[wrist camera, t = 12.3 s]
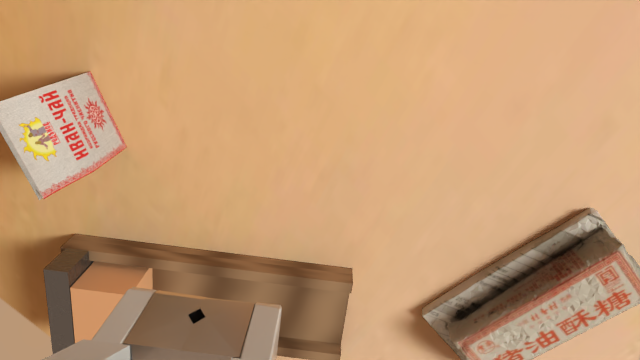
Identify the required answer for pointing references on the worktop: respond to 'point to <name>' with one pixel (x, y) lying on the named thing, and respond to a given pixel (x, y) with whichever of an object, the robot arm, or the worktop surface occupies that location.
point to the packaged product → (539, 294)
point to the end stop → (63, 294)
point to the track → (245, 287)
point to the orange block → (103, 294)
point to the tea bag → (60, 132)
